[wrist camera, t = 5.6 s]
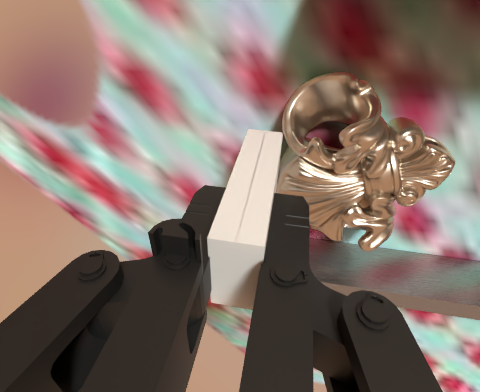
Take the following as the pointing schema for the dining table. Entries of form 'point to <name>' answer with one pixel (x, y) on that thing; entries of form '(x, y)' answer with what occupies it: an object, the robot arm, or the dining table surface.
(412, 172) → the ornament
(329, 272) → the frame
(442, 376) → the dining table surface
